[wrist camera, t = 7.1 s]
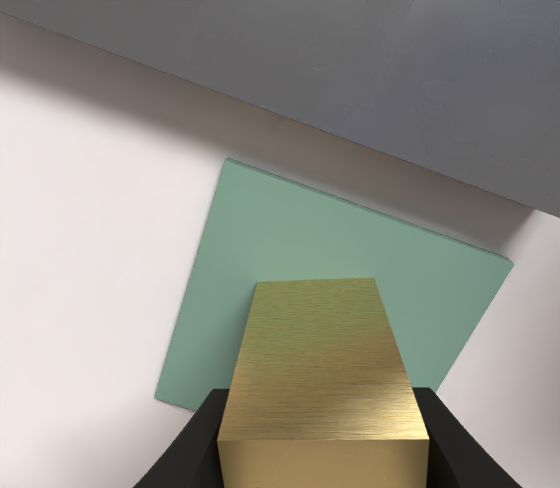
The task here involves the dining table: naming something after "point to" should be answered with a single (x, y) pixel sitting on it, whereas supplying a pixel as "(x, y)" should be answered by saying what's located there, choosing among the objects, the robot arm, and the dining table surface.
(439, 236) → the green mat
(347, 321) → the brushed gold bar
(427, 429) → the robot arm
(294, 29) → the grey board with hole
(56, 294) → the dining table surface
